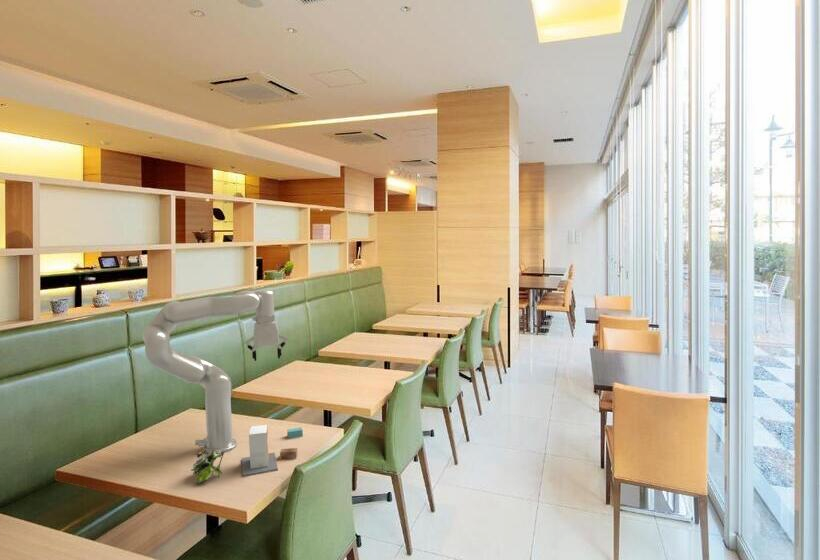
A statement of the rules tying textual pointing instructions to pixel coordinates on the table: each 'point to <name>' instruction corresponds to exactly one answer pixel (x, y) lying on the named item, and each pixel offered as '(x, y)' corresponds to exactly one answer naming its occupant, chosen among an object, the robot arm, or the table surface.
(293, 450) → the walnut block
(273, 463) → the charcoal mat
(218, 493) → the table surface
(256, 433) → the small box
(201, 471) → the passion flower
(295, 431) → the teal block
